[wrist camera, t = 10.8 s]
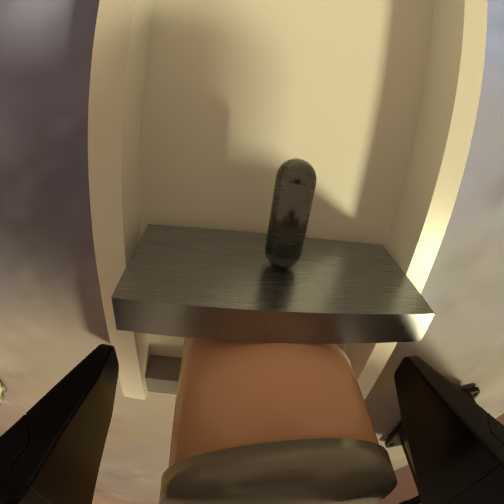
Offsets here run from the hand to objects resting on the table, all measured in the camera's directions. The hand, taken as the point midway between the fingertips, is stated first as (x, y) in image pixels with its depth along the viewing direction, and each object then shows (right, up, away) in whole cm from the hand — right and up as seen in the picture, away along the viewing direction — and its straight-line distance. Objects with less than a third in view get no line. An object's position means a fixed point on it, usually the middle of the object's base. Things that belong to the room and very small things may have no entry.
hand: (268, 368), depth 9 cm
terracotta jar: (0, +1, +4) cm, 4 cm away
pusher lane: (0, +6, +2) cm, 7 cm away
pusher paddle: (0, +5, +1) cm, 5 cm away
